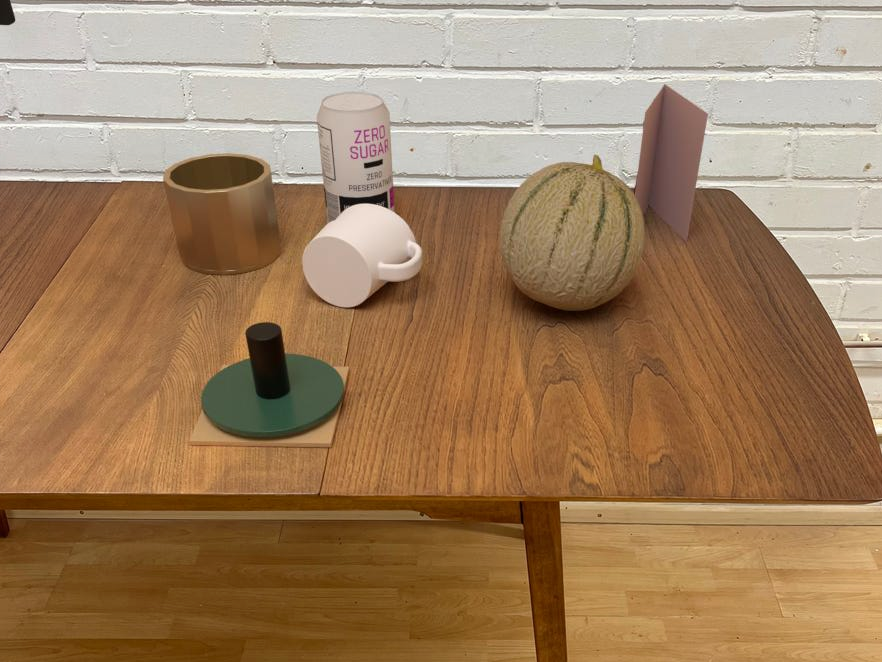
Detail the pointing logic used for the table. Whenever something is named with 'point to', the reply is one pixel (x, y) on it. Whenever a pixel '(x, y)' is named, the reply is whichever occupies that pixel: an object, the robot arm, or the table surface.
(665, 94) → the greeting card
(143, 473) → the table surface
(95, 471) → the table surface
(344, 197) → the supplement can
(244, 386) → the tin lid
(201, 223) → the tin
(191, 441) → the cork mat
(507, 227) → the cantaloupe
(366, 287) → the mug
